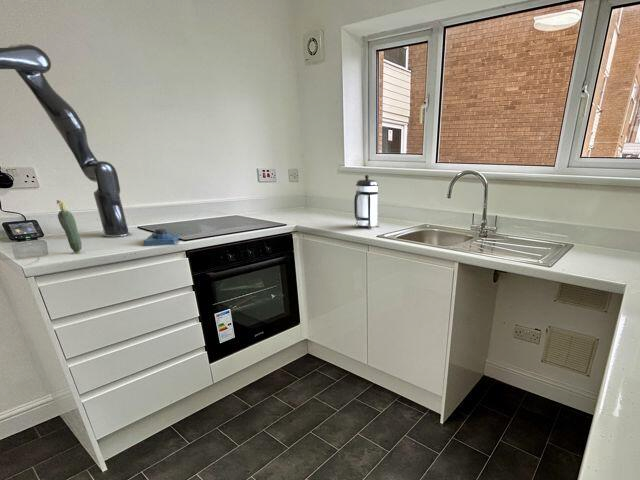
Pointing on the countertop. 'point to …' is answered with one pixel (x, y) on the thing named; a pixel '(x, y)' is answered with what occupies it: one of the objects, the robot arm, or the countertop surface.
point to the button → (160, 231)
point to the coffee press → (366, 202)
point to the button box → (161, 239)
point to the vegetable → (69, 227)
